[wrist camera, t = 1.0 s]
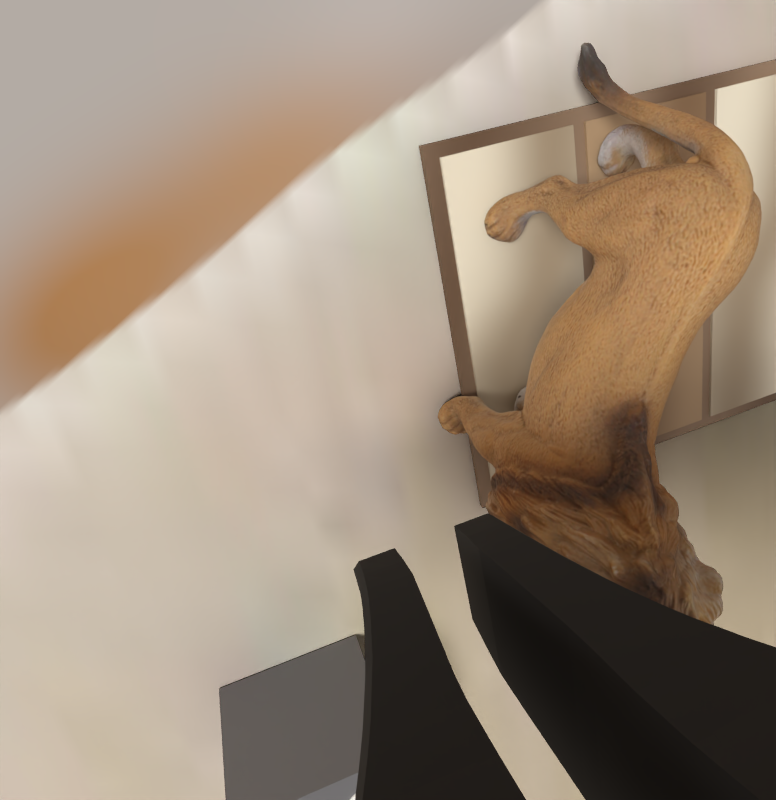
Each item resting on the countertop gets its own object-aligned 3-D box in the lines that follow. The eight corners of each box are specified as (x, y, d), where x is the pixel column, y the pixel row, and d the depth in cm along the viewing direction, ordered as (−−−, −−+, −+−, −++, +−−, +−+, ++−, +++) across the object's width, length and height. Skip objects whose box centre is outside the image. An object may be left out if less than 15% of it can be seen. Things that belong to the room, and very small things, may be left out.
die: (355, 634, 22) (398, 756, 18) (384, 726, 24) (429, 856, 20) (219, 688, 21) (227, 832, 17) (260, 779, 23) (278, 928, 19)
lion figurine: (553, 512, 22) (755, 710, 14) (416, 523, 21) (559, 753, 13) (649, 61, 17) (1041, -20, 9) (479, 28, 16) (780, -101, 8)
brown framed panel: (831, 45, 19) (840, 44, 19) (800, 387, 24) (807, 389, 24) (418, 145, 17) (422, 145, 16) (480, 504, 22) (484, 509, 21)
